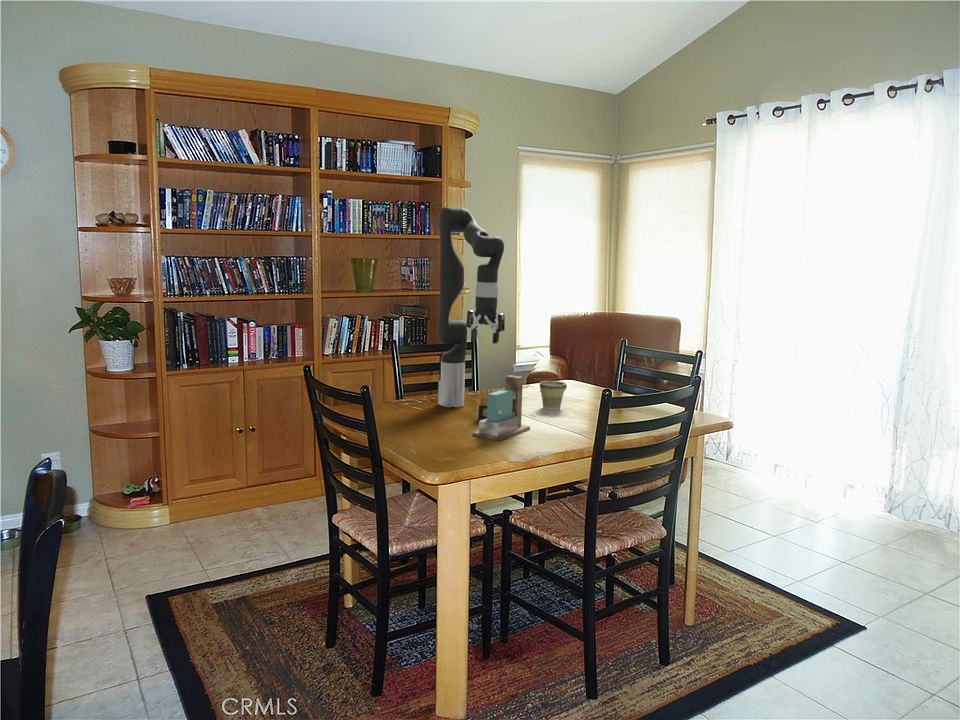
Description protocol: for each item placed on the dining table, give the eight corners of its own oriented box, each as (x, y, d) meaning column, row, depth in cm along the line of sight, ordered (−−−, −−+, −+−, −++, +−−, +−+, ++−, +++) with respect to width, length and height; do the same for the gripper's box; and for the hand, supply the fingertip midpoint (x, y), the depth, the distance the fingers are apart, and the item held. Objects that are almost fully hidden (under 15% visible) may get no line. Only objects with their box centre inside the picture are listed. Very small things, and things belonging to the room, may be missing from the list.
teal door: (486, 432, 241) (487, 393, 239) (504, 426, 250) (505, 388, 248) (496, 434, 239) (497, 395, 237) (513, 428, 248) (515, 390, 246)
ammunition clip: (507, 420, 263) (508, 387, 261) (506, 421, 261) (507, 388, 259) (479, 417, 266) (480, 385, 265) (477, 418, 265) (478, 386, 263)
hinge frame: (472, 435, 241) (473, 381, 239) (502, 424, 257) (504, 373, 254) (500, 440, 235) (502, 385, 233) (530, 429, 251) (532, 377, 248)
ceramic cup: (552, 412, 278) (553, 386, 277) (533, 407, 286) (534, 382, 284) (574, 408, 287) (576, 382, 285) (556, 403, 294) (557, 379, 293)
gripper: (463, 294, 253) (461, 340, 256) (498, 297, 245) (496, 345, 248) (475, 292, 259) (473, 338, 262) (510, 296, 252) (507, 343, 255)
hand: (484, 341), depth 255 cm, fingers open, 8 cm apart
